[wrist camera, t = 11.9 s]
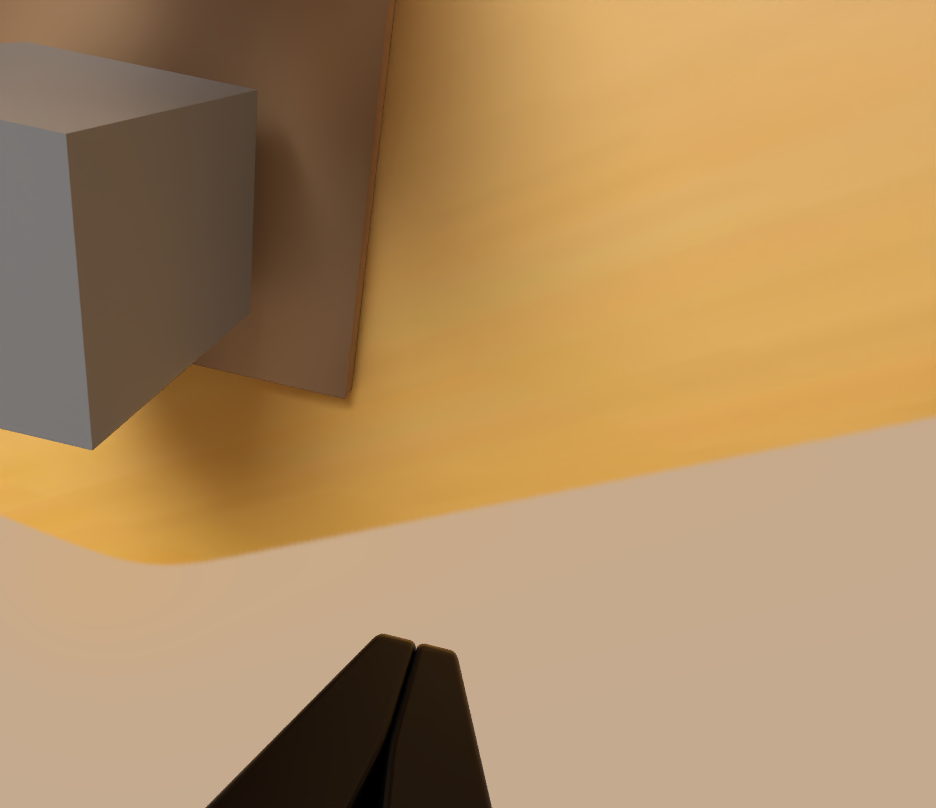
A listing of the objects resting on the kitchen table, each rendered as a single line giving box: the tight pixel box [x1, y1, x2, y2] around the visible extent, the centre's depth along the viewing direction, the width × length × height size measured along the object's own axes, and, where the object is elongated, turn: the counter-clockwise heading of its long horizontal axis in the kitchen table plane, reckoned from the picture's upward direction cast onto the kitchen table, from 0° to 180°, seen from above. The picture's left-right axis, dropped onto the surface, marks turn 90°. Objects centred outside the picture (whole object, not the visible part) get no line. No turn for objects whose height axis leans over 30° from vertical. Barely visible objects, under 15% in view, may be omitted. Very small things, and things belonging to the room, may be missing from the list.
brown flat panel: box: [0, 0, 395, 399], centre depth 15 cm, size 10×10×8 cm
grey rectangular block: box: [0, 42, 258, 450], centre depth 14 cm, size 5×5×7 cm
